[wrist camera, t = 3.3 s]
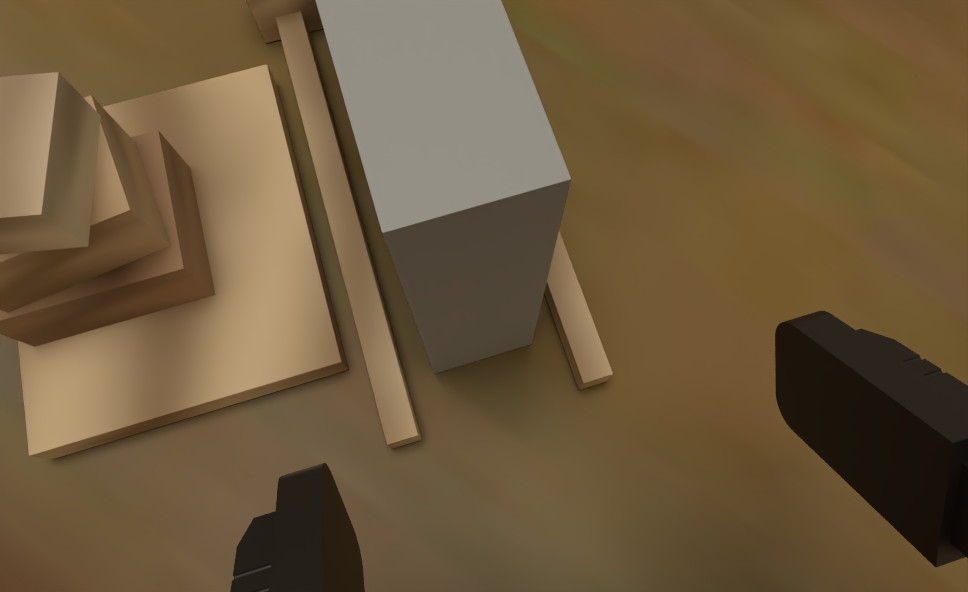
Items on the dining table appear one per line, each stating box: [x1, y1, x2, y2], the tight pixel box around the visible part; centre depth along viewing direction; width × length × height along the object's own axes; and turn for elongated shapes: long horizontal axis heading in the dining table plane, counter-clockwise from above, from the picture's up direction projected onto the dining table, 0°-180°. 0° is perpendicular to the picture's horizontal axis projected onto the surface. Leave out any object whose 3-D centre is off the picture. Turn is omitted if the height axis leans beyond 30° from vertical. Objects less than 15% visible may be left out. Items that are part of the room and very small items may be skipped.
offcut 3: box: [0, 130, 215, 347], centre depth 22 cm, size 6×5×2 cm
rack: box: [18, 0, 613, 459], centre depth 23 cm, size 19×19×4 cm
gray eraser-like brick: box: [316, 0, 571, 374], centre depth 20 cm, size 4×14×12 cm, turn 17°
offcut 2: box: [0, 95, 171, 313], centre depth 20 cm, size 5×4×2 cm
